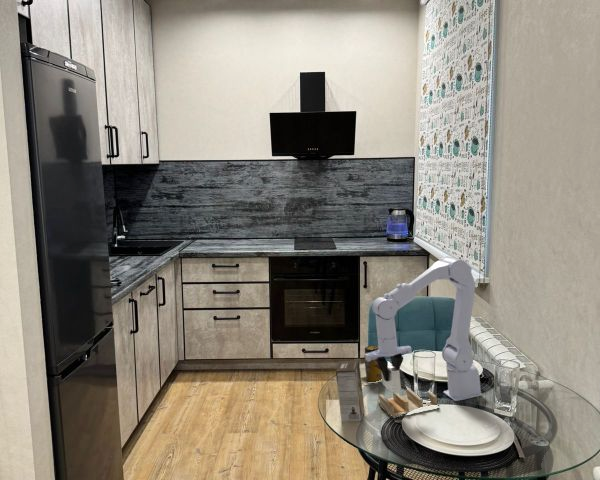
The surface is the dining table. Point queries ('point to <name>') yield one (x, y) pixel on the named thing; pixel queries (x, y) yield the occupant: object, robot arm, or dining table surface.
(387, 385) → the panel
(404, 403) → the rack
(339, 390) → the coffee box
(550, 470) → the dining table surface
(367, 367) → the condiment
